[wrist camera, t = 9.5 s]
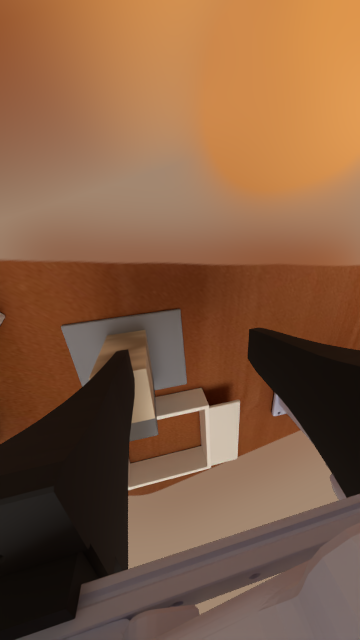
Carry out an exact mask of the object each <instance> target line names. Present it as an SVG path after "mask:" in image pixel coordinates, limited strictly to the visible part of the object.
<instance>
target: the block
mask: <svg viewBox="0 0 360 640" xmlns="http://www.w3.org/2000/svg"><path fill="white" fill-rule="evenodd" d="M126 349H128V351H129V355H130V360H131V364H132V369H133V373H134V378H135V399H134V407H133V415H132V423H131V431H130V441H134V440H138V439H142V438H147V437H151V436H156V435H158V426H157V414H156V401H155V388H154V379H153V373H152V367H151V361H150V355H149V349H148V343H147V337H146V331H145V330H141V331H134V332H127V333H121V334H114V335H107V336H106V339H105V341H104V344H103V346H102V348H101V351H100V353H99V355H98V358H97V360H96V363H95V365H94V367H93V370H92V372H91V374H90V377H89V380H90V379H91V378H92V377H93V376H94V375H95V374H96V373H97V372H98V371H99V370H100V369H101V368H102V367H103V366H104V365H105V364H106V362H107V361H108V360H109V359H110V358H111V357H112V356H113V355H114V353H115V352H116V351H120V350H126Z"/></svg>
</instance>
